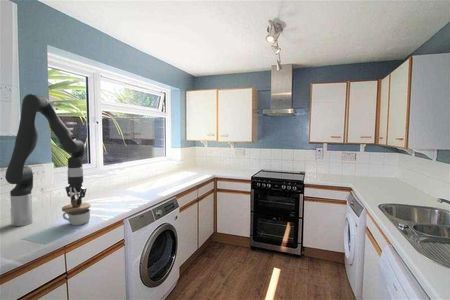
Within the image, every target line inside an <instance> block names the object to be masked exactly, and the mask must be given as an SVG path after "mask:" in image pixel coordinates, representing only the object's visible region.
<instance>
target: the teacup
mask: <svg viewBox="0 0 450 300" xmlns="http://www.w3.org/2000/svg"><path fill="white" fill-rule="evenodd" d="M66 215H67V216H68V217H67V216H66ZM62 218H63V219H64V220H66V221H68V222H69V223H70V225H72V226H82V225H85V224H87V223H89V222H90V219H91V209H90V208H88V209H86V210H82V211H77V212H63V213H62Z"/></svg>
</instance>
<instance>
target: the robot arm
mask: <svg viewBox="0 0 450 300" xmlns="http://www.w3.org/2000/svg"><path fill="white" fill-rule="evenodd" d="M37 113H40V114H41V115H42V116H44V117H45V119H46V121H47V122H48V124H49V128H50V130H51V132H52V133H53V134H54V135H55V137H56V138H57V139H58V140H59V143H60V144H61V146H62V148H63V150H64V151H65V152H67V153H69V154H71V156H70V157H68V158H67V184H68V186H65V192H66V194H67V197H69V198H70V204H72V200H73V199H77V205H81V204H82V203H83V200H82V198H83V199H84V198H85V197H86V193H87V187H83V183H84V170H83V168H84V167H83V157H84V153H85V144H84V142H83V141H81V140H79V139H77V140H76V139H75V140H74V139H72V137H73V133H72V132H71V130H70V129H69V128H68V127H67V126H66V125H65V123H63V121H62V119H61V118H60V116H59V115H58V113H57V112H56V111H55V109H54V107H53V106H52V104H51V102H50V101H49V100H48V99H47V97H44V96H41V95H37V94H32V93H30V94H29V93H28V94H26V95H25V96H24V97H23V99H22V103H21V113H20V120H19V124H18V129H17V133H16V136H15V142H14V147H13V150H12V154H11V157H10V161H9V163H8V165H7V168H6V171H5V180H6V182H7V183H8V184H11V185H15V186H13V188H12V189H11V190H10V191H9V192H10V193H9V194H10V195H9V196H10V197H9V198H10V225H11V226H12V227H22V226H27V225H29V224H32V223H33V222H34V221H33V218H34V217H33V199H32V195H33V194H32V190H33V188H34V173H33V170H32V169H31V167H30V166H26V165H25V164H26V162H27V159H28V157H29V156H31V154H32V153H33V152H34V151H35V149H36V147H37V144H38V139H39V132H38V129H37V125H36V116H37Z"/></svg>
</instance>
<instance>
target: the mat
mask: <svg viewBox="0 0 450 300" xmlns="http://www.w3.org/2000/svg"><path fill="white" fill-rule="evenodd" d="M73 233H76V230H73V229H68V228H67V229H66V228H61V227H56V226H53V227H50V228H47V229H45V230H42V231H39V232H36V233H34V234H31V235H28V236H26V237H23V238H22V240H23V241H28V242H32V243H36V244H41V245H47V244H49V243H51V242H53V241H56V240H58V239H60V238H63V237H65V236H67V235H69V234H73Z"/></svg>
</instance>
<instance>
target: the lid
mask: <svg viewBox="0 0 450 300" xmlns="http://www.w3.org/2000/svg"><path fill="white" fill-rule="evenodd" d="M90 208H91V204H90V203H89V202H82V204H81V205H77V198H75V199H73V200H72V204H71V203H70V204H66V205H64V206H62V207H61V212H63V213H65V212H77V211H82V210H86V209H90Z"/></svg>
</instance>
